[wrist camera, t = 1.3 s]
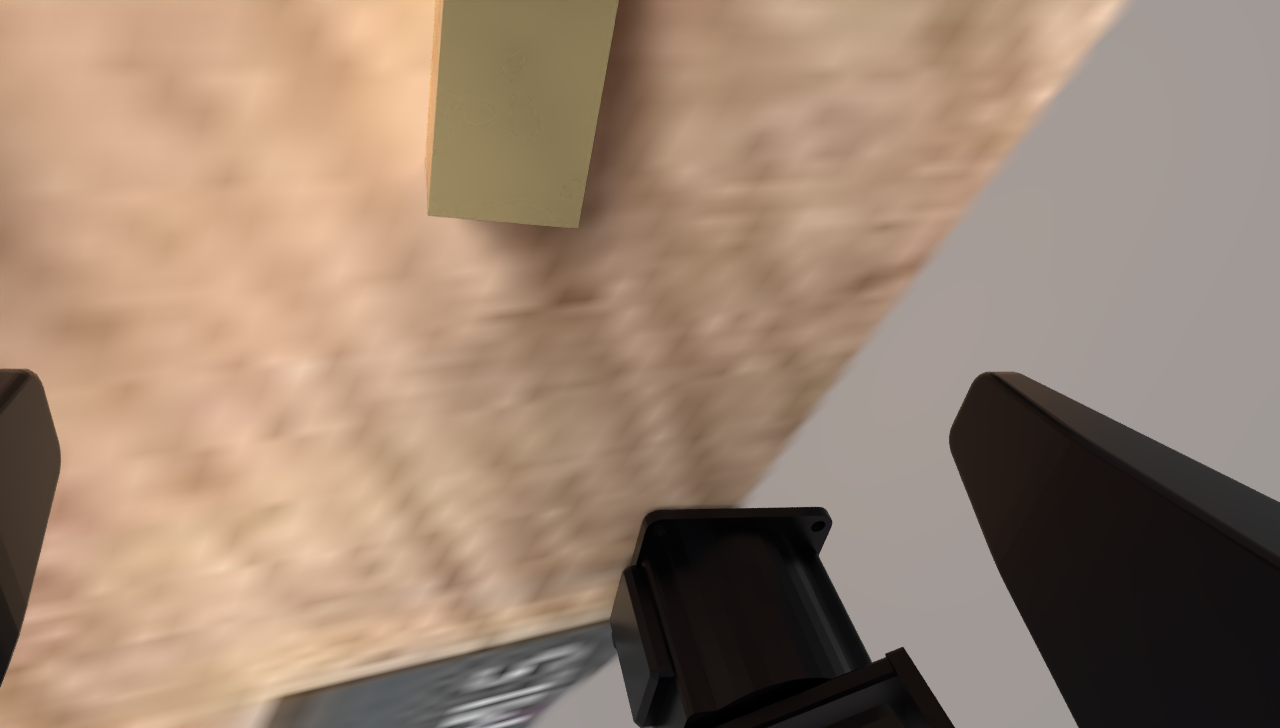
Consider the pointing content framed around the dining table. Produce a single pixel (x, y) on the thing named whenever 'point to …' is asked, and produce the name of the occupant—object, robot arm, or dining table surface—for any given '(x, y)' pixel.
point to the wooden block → (515, 107)
